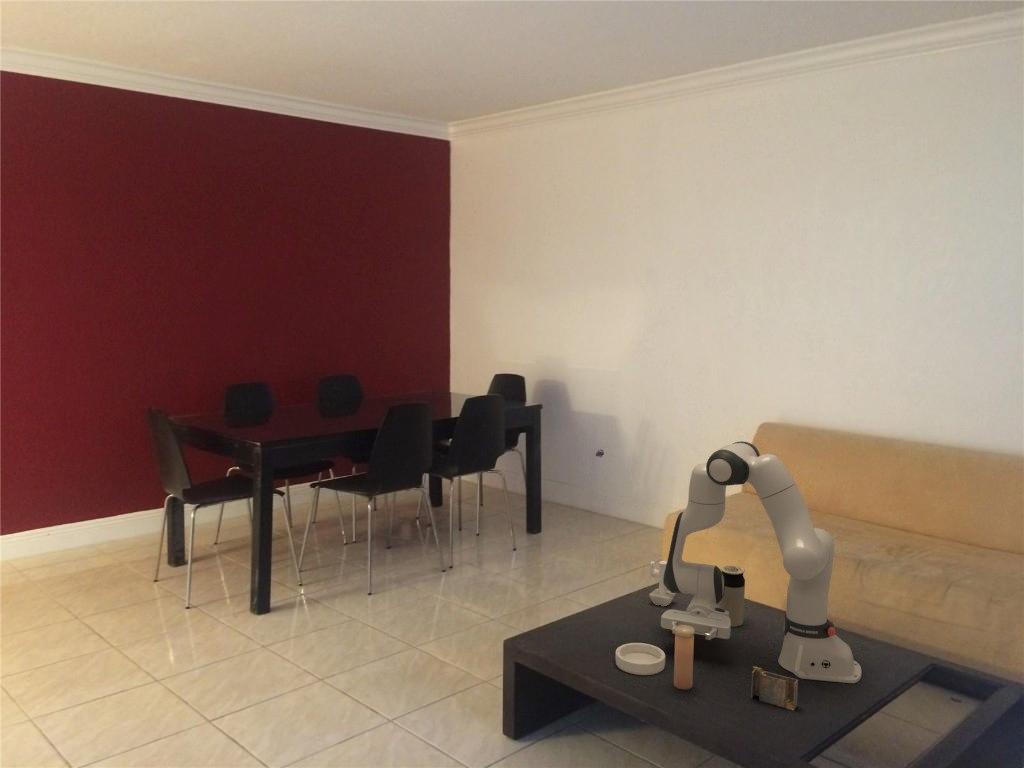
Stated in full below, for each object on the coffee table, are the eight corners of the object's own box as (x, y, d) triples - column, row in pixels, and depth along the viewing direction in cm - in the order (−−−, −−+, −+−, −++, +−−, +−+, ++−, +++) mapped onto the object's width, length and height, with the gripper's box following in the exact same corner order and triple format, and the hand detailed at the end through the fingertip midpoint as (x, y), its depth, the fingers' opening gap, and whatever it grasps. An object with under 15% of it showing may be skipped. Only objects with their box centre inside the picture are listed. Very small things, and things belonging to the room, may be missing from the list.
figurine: (671, 609, 281) (672, 567, 280) (645, 604, 286) (646, 562, 284) (679, 603, 287) (680, 561, 286) (653, 597, 292) (654, 556, 290)
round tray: (669, 658, 245) (669, 647, 245) (658, 678, 232) (658, 667, 232) (622, 649, 250) (623, 639, 250) (610, 669, 237) (610, 659, 237)
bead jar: (694, 682, 230) (696, 626, 228) (690, 691, 225) (692, 634, 223) (675, 679, 232) (677, 623, 230) (671, 687, 227) (673, 630, 225)
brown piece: (750, 700, 221) (751, 665, 220) (753, 695, 224) (755, 661, 223) (793, 712, 215) (795, 676, 214) (796, 707, 218) (798, 672, 216)
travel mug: (719, 626, 268) (721, 572, 266) (716, 616, 276) (718, 564, 273) (744, 628, 267) (747, 573, 265) (741, 618, 275) (743, 565, 272)
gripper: (666, 601, 255) (655, 617, 242) (734, 612, 247) (727, 630, 235) (665, 620, 256) (655, 638, 243) (733, 632, 248) (726, 651, 235)
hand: (691, 634), depth 239 cm, fingers open, 8 cm apart
